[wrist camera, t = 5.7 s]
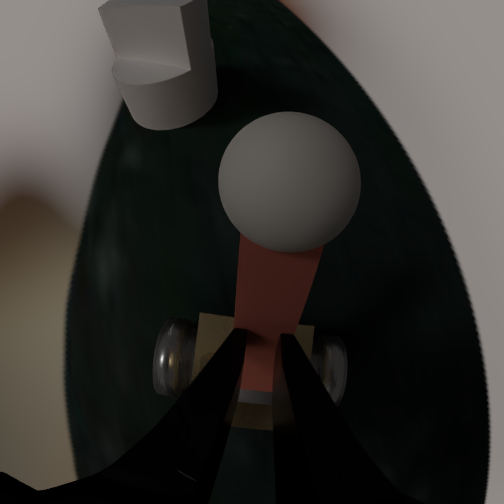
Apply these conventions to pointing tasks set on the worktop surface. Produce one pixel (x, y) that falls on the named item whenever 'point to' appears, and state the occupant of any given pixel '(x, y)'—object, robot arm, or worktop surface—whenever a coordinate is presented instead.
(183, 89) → the base with upright slab
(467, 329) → the worktop surface
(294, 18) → the worktop surface
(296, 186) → the valve lever
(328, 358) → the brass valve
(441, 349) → the worktop surface
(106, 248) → the worktop surface
